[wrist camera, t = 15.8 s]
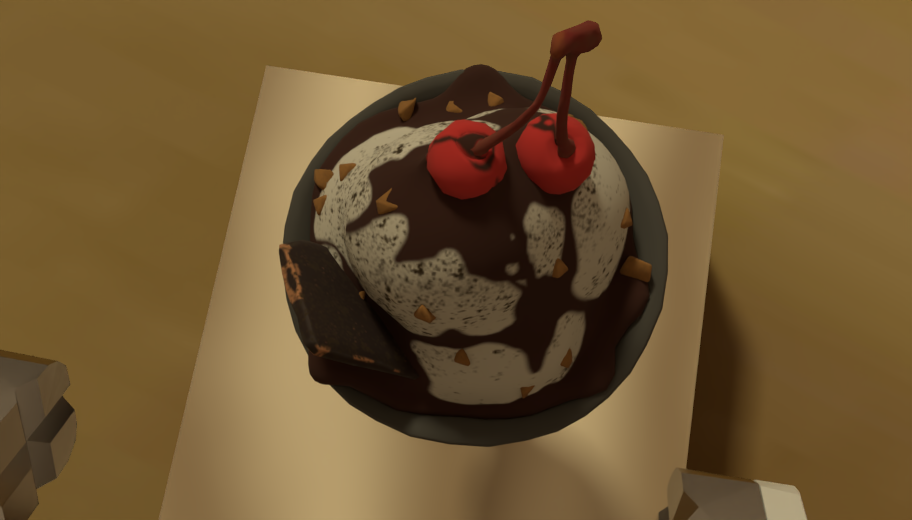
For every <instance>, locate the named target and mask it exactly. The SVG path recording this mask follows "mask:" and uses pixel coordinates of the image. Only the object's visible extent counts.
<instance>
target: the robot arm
mask: <svg viewBox="0 0 912 520" xmlns="http://www.w3.org/2000/svg"><path fill="white" fill-rule="evenodd" d="M69 386H70V381H69V376H68V372H67V367H66V365H64V364H62V363H60V362H58V361H55V360H50V359H45V358H40V357H35V356H30V355H24V354H19V353H14V352H9V351H4V350H0V520H28V518H29V517H30V515H31V514H32V513H33V511H34V510H35V508H36V507H37V506H38V504H39V502H38V496H37V488H39V487H41V486H43V485H45V484H47V483H49V482H50V481H52V480H54V479H56V478H57V477H58V476H59V474H60V473H61V471H62V470H63V468H64V467H65V465H66V464H67V462H68V460H69V457H70V455H71V452H72V449H73V446H74V443H75V441H76V428H77V422H76V415H75V410H74V409H73V408H72V406H71V405H70V404H69V403H68V402H67V401H66V400H65V399H64V398H63V396H62V395H63V394H64V392H65V391H66V390H67V388H68V387H69ZM667 499H668V507H666V508H664V509H663V510H661V511H660V512H658V515H657V519H656V520H807V516H806V513H805V509H804V506H803V502H802V498H801V495H800V492H799V491H798V490H797V489H796V487H795V486H791V485H785V484H779V483H772V482H766V481H760V480H754V481H753V480H751V479H745V478H739V477H733V476H727V475H721V474H715V473H708V472H702V471H696V470H690V469H684V468H678V467H676V468H675V470H674V471H673V473H672V474H671V477H670V480H669V483H668V486H667Z"/></svg>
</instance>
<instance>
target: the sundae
mask: <svg viewBox="0 0 912 520" xmlns="http://www.w3.org/2000/svg"><path fill="white" fill-rule="evenodd" d="M601 40H602V35H601V32H600V28H599V25H598V24H597V23H596V22H593V21H586V22H584V23H581V24H579V25H577V26H574V27H571V28H569V29H566V30H563V31H561V32H558V33H556V34H554V35H553V37H552V42H551V49H550V54H551V56H550V60H549V63H548V66H547V70H546V73H545V76H544V79H543V82H541V81H539V80H537V79H535V78H533V77H527V76H522V75H517V74H512V73H506V72H501V71H496V70H495V69H493V68H492V67H490V66H487V65H482V64H480V65H473V66H471V67H468V68H466V69H465V70H457V71H453V72H449V73H444V74H440V75H436V76H431V77H427V78H424V79H421V80H419V81H416V82H413V83H410V84H408V85H405V86H402V87H400V88H397V89H396V90H394V91H392V92H391V93H389V94H387V95H385V96H384V97H382V98H380V99H379V100H377V101H375V102H374V103H372V104H371V105H369V106H368V107H366V108H365V109H364V110H362V111H361V112H359V113H358V114H357V115H355V116H354V117H353V118H351V119H350V120H349V121H347V122H346V123H345V124H344V125H343V126H342V127H341V128H340V129H338V130H337V131H336V132H335V133H334V134H333V135H332V136H330V137H329V138H328V139H327V141H326V142H325V143H324V145H323V146H322V147H321V148H320V150H319V151H318V152H317V154H316V155H315V156H314V158H313V159H312V160H311V162H310V163H309V165H308V167H307V169H306V170H305V172H304V174H303V176H302V177H301V179H300V181H299V183H298V184H297V186H296V188H295V190H294V191H293V195H292V199H291V203H290V207H289V211H288V215H287V219H286V223H285V227H284V237H283V244H280V245H279V257H280V264H281V271H282V276H283V280H284V286H285V293H286V299H287V303H288V307H289V310H290V314H291V317H292V321H293V325H294V328H295V331H296V333H297V335H298V337H299V339H300V341H301V343H302V345H303V347H304V349H305V351H306V353H307V354H308V367H309V373H310V375H311V377H312V378H313V379H314V381H316V382H318V383H320V384H323V385H330V386H331V387H332V388H333V389H334V390H335V391H336V392H337V393H338V394H339V395H340V396H341V397H342V398H343V399H344V400H345V401H346V402H347V403H348V404H349V405H351V406H353V407H354V408H356V409H357V410H359V411H361V412H362V413H364V414H366V415H367V416H369V417H370V418H372V419H374V420H375V421H377V422H379V423H382V424H384V425H386V426H388V427H390V428H392V429H395V430H397V431H399V432H401V433H403V434H405V435H407V436H410V437H414V438H419V439H424V440H429V441H434V442H439V443H444V444H451V445H465V446H479V447H492V446H498V445H504V444H510V443H516V442H522V441H527V440H531V439H534V438H538V437H541V436H544V435H548V434H551V433H555V432H558V431H560V430H562V429H563V428H565V427H567V426H569V425H571V424H572V423H574V422H576V421H578V420H580V419H581V418H583V417H585V416H586V415H588V414H589V413H590V412H591V411H593V410H594V409H595V408H596V407H598V406H599V405H600V404H601V403H603V402H604V401H605V400H606V399H608V398H609V397H610V396H611V395H612V394H613V392H614V391H615V390H616V389H617V388H618V387H619V386H620V385H621V384H622V382H623V381H624V380H625V379H626V378H627V377H628V376H629V375H630V374H631V372H632V370H633V368H634V367H635V365H636V363H637V362H638V360H639V358H640V356H641V355H642V353H643V351H644V349H645V348H646V346H647V344H648V342H649V339H650V337H651V335H652V332H653V330H654V328H655V325H656V323H657V321H658V318H659V316H660V314H661V311H662V308H663V301H664V295H665V288H666V282H667V275H668V233H667V230H666V226H665V222H664V218H663V215H662V211H661V207H660V204H659V201H658V198H657V196H656V193H655V191H654V189H653V186H652V184H651V182H650V179H649V177H648V175H647V173H646V172H645V170H644V169H643V168H642V166H641V165H640V163H639V162H638V160H637V159H636V157H635V156H634V155H633V153H632V152H631V150H630V149H629V148H628V147H627V146H626V145H625V144H624V142H623V141H622V140H621V139H620V138H619V137H618V136H617V134H616V133H615V132H614V131H613V130H612V129H611V128H610V127H609V126H608V125H607V124H606V123H605V122H604V121H603V120H601V119H600V118H599V117H598V116H597V115H596V114H595V113H594V112H593V111H592V110H591V109H589V108H588V107H586V106H585V105H583V104H581V103H580V102H578V101H577V100H575V99H574V98H572V97H571V91H572V82H573V75H574V69H575V65H576V60H577V57H578V56H579V55H580V54H581V53H585V52H589V51H591V50H592V49H594V48H595V47H597V46H598V45H599V43H600V41H601ZM564 56H566V65H565V71H564V76H563V83H562V89H561V91H560V90H558V89H556V88H554V87H551V84H552V81H553V78H554V76H555V73H556V70H557V68H558V65H559V63H560V60H561V59H562V58H563V57H564Z"/></svg>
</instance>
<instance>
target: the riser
mask: <svg viewBox="0 0 912 520" xmlns="http://www.w3.org/2000/svg"><path fill="white" fill-rule="evenodd" d="M400 87H402V86H398V85H392V84H385V83H378V82H372V81H365V80H359V79H352V78H345V77H339V76H332V75H326V74H319V73H312V72H306V71H299V70H293V69H286V68H280V67H273V66H266V69H265V73H264V78H263V82H262V86H261V90H260V95H259V99H258V103H257V107H256V111H255V116H254V120H253V124H252V128H251V132H250V137H249V141H248V145H247V149H246V154H245V158H244V162H243V166H242V170H241V175H240V179H239V183H238V187H237V191H236V196H235V200H234V204H233V208H232V213H231V217H230V221H229V225H228V229H227V234H226V238H225V242H224V246H223V250H222V255H221V259H220V263H219V267H218V272H217V276H216V280H215V284H214V288H213V293H212V297H211V301H210V305H209V309H208V314H207V318H206V322H205V326H204V331H203V335H202V339H201V343H200V347H199V352H198V356H197V360H196V364H195V368H194V373H193V377H192V381H191V385H190V390H189V394H188V398H187V402H186V406H185V411H184V415H183V419H182V423H181V427H180V432H179V436H178V440H177V444H176V449H175V453H174V457H173V461H172V465H171V470H170V474H169V478H168V482H167V486H166V491H165V495H164V499H163V503H162V508H161V512H160V516H159V520H656V519H657V515H658V512H660V511H661V510H663V509H664V508H666V507H668V499H667V486H668V483H669V480H670V477H671V474H672V473H673V471H674V470H675V468H676V467H678V468H684V469H686V464H687V455H688V447H689V438H690V429H691V420H692V411H693V402H694V394H695V385H696V376H697V367H698V358H699V350H700V341H701V332H702V323H703V314H704V305H705V297H706V288H707V279H708V270H709V261H710V252H711V244H712V235H713V226H714V217H715V208H716V199H717V191H718V182H719V173H720V164H721V155H722V146H723V138H724V135H721V134H714V133H708V132H701V131H694V130H688V129H681V128H675V127H668V126H662V125H655V124H648V123H642V122H635V121H629V120H622V119H615V118H609V117H602V116H598V117H599V118H600V119H601V120H603V121H604V122H605V123H606V124H607V125H608V126H609V127H610V128H611V129H612V130H613V131H614V132H615V133H616V134H617V136H618V137H619V138H620V139H621V140H622V141H623V142H624V144H625V145H626V146H627V147H628V148H629V149H630V150H631V152H632V153H633V155H634V156H635V157H636V159H637V160H638V162H639V163H640V165H641V166H642V168H643V169H644V170H645V172H646V173H647V175H648V177H649V179H650V182H651V184H652V186H653V189H654V191H655V193H656V196H657V198H658V201H659V204H660V207H661V211H662V215H663V218H664V222H665V226H666V230H667V233H668V275H667V282H666V288H665V295H664V301H663V308H662V311H661V314H660V316H659V318H658V321H657V323H656V325H655V328H654V330H653V332H652V335H651V337H650V339H649V342H648V344H647V346H646V348H645V349H644V351H643V353H642V355H641V356H640V358H639V360H638V362H637V363H636V365H635V367H634V368H633V370H632V372H631V374H630V375H629V376H628V377H627V378H626V379H625V380H624V381H623V382H622V384H621V385H620V386H619V387H618V388H617V389H616V390H615V391H614V392H613V394H612V395H611V396H610V397H609V398H608V399H606V400H605V401H604V402H603V403H601V404H600V405H599V406H598V407H596V408H595V409H594V410H593V411H591V412H590V413H589V414H588V415H586V416H585V417H583V418H581V419H580V420H578V421H576V422H574V423H572V424H571V425H569V426H567V427H565V428H563V429H562V430H560V431H558V432H555V433H551V434H548V435H544V436H541V437H538V438H534V439H531V440H527V441H522V442H516V443H510V444H504V445H498V446H492V447H479V446H465V445H451V444H444V443H439V442H434V441H429V440H424V439H419V438H414V437H410V436H407V435H405V434H403V433H401V432H399V431H397V430H395V429H392V428H390V427H388V426H386V425H384V424H382V423H379V422H377V421H375V420H374V419H372V418H370V417H369V416H367V415H366V414H364V413H362V412H361V411H359V410H357V409H356V408H354V407H353V406H351V405H349V404H348V403H347V402H346V401H345V400H344V399H343V398H342V397H341V396H340V395H339V394H338V393H337V392H336V391H335V390H334V389H333V388H332V387H331V386H330V385H323V384H320V383H318V382H316V381H314V379H313V378H312V377H311V375H310V373H309V367H308V354H307V353H306V351H305V349H304V347H303V345H302V343H301V341H300V339H299V337H298V335H297V333H296V331H295V328H294V325H293V321H292V317H291V314H290V310H289V307H288V303H287V299H286V293H285V286H284V280H283V276H282V271H281V264H280V257H279V245H280V244H283V237H284V227H285V223H286V219H287V215H288V211H289V207H290V203H291V199H292V195H293V191H294V190H295V188H296V186H297V184H298V183H299V181H300V179H301V177H302V176H303V174H304V172H305V170H306V169H307V167H308V165H309V163H310V162H311V160H312V159H313V158H314V156H315V155H316V154H317V152H318V151H319V150H320V148H321V147H322V146H323V145H324V143H325V142H326V141H327V139H328V138H329V137H330V136H332V135H333V134H334V133H335V132H336V131H337V130H338V129H340V128H341V127H342V126H343V125H344V124H345V123H346V122H347V121H349V120H350V119H351V118H353V117H354V116H355V115H357V114H358V113H359V112H361V111H362V110H364V109H365V108H366V107H368V106H369V105H371V104H372V103H374V102H375V101H377V100H379V99H380V98H382V97H384V96H385V95H387V94H389V93H391V92H392V91H394V90H396V89H397V88H400Z"/></svg>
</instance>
